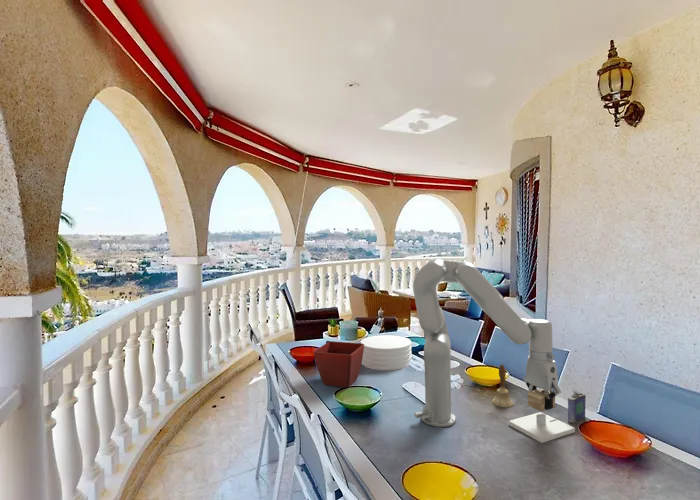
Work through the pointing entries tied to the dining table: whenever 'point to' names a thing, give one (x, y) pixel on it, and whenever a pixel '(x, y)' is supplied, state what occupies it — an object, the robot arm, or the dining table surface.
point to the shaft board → (541, 427)
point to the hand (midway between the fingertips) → (541, 405)
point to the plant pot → (339, 362)
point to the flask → (576, 407)
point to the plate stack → (386, 352)
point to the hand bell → (502, 391)
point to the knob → (538, 399)
